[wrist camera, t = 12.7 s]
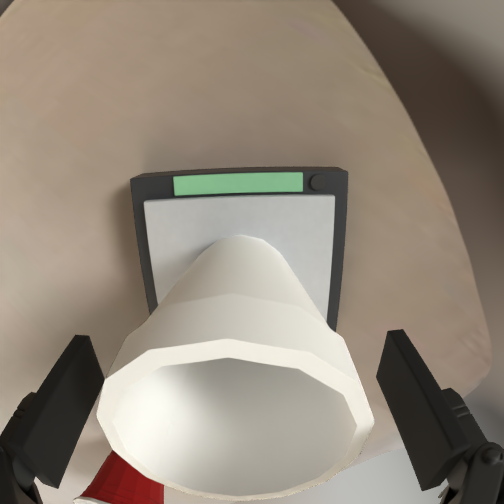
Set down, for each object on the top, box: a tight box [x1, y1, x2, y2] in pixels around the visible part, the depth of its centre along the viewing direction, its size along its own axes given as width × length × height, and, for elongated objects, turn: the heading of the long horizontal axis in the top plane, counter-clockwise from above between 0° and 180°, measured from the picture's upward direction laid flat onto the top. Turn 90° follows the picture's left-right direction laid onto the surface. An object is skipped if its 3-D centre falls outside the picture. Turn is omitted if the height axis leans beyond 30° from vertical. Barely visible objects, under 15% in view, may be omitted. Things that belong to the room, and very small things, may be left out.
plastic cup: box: [73, 450, 164, 504], centre depth 28 cm, size 11×11×12 cm
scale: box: [130, 167, 348, 333], centre depth 23 cm, size 14×14×3 cm
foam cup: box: [96, 235, 375, 501], centre depth 15 cm, size 10×9×13 cm
